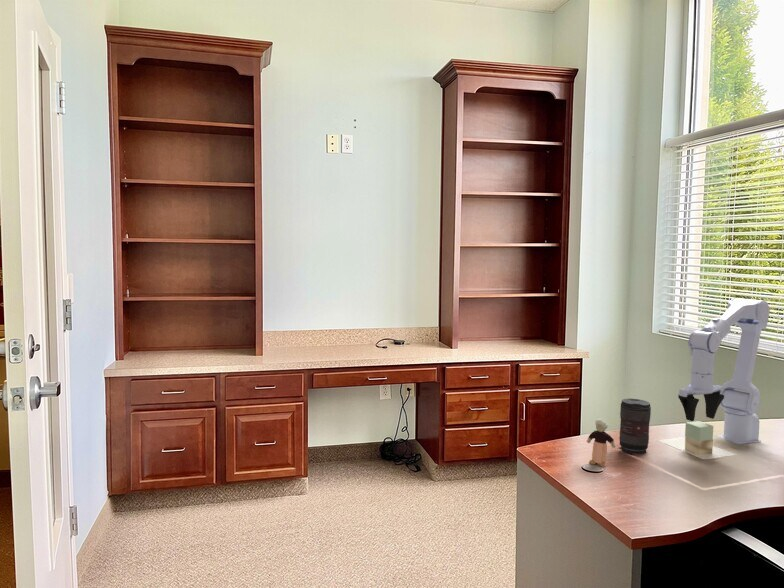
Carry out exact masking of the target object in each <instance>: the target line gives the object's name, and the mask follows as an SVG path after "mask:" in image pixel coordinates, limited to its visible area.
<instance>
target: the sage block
mask: <svg viewBox="0 0 784 588" xmlns="http://www.w3.org/2000/svg"><path fill="white" fill-rule="evenodd" d="M685 436H687V437H689V438H692V439H694V440H697V441H706V440H713V441H714V425H711V424H709V423H705V422H703V421H700V420H696V421H695V420H694V421H687V422H685V431H684V437H685Z"/></svg>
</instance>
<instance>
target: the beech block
mask: <svg viewBox="0 0 784 588" xmlns="http://www.w3.org/2000/svg"><path fill="white" fill-rule="evenodd" d="M684 437H685V450H687V451H690V452H692V453H695V454H697V455H704V454H711V453H712V449H713V446H714V439H713V440H706V441H697V440H694V439H692V438H689V437H687V436H685V435H684Z"/></svg>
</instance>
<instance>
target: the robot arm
mask: <svg viewBox="0 0 784 588" xmlns="http://www.w3.org/2000/svg"><path fill="white" fill-rule="evenodd" d="M770 311H771V310H770V307H769V303H768V302H767V301H766V300H765V299H761V300H759V299H748V298H747V299H744V298H737V297H732V298H731V299H730V300H729V301H728V302H727V307H726V310H725V311H724V313H723V314H722V315H721V316H720V317H713V318H712V319H710V321H709V322H708V323H707V324H705V325H704V326H703V327H702V328H700V330H695V331H692V332H691V333H690V334H689V337H688V341H687V343H688V344H687V345H688V349H689V355H690V356H691V365H690V366H691V368H690V369H691V370H690V384H688V385H687V386H686V387H684V388H683V387H682V388H679V389H678V391H679V392H678V393H679V394H678V395H677V396H678V397H677V398H678V399H679V401H680V403H681V405H682V408H683V411H684V415H685V419H686V420H687V421H688V422H695V418H696V409H697V406H698V403H699V401H700V399H699V398H696V397H695V396H700V395H703V397H704V403H705V417H706V418H708V419H711V420H714V419H715V416H716V414H717V411H718V409H719V406H720V408H722V411H724V421H723V422H724V425H723V435H722V434H720V435H716V437H718V438H720V439H724V440H726V441H729V442H732V443H735V444H737V445H743V444H744V445H745V444H751V443H756V442H757V443H758V442H759V443H762V440H760V439H759V436H760V418H759V416H758V414H756V413H757V412H758V411H759V409H760V405H761V399H760V398H761V397H760V395H761V391H760V390H759V388H757V387H756V386H755V385H754V384H753V382H752V380H753V376H754V370H755V365H756V359H757V354H758V349H759V346H760V345H759V344H760V338H761V333H762V330H764V329H766V328H767V327H768V326H767V325H768V323H769V318H770V317H769V316H770V313H771V312H770ZM733 325H736V326H738V327H739V328H740V329H741V335H740V339H739V344H738V349H737V355H736V360H735V365H734V370H733V376H732V379H730V380H729V381H726V382H724V383H723V385H719V384H717V385H714V375H715V355H716V352H717V351H719V348H720V345H721V344H722V340H723V339H724V338H726V336H727V335H729V333H730V332H731V327H732V326H733Z"/></svg>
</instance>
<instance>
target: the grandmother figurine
mask: <svg viewBox="0 0 784 588" xmlns="http://www.w3.org/2000/svg"><path fill="white" fill-rule="evenodd" d="M608 428H609V425H608V423H607V421H606V420H605V419H604V418H597V419H596V420H595V429H596V430H593V431H592V432H591V433H590V434H589V435H588V437H587V440H586V443H588V444H590V443H591V442H592V441H593V439H594V441H593V444H592V453H591V459H590V460H589V462H588V463H589V464H591V465H597V464H598V466H599V465H600V466H599V467H606V466H607V457H608V456H607V455H608V446H607V445H608V443H609V444H610V446H611V448H613V449H615V448H616V446H617V445H616V444H615V439H614V438H613V437H612V436H611V435H610V434H608V433H607V432H606V430H607V429H608ZM607 442H608V443H607ZM596 463H597V464H596Z"/></svg>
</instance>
